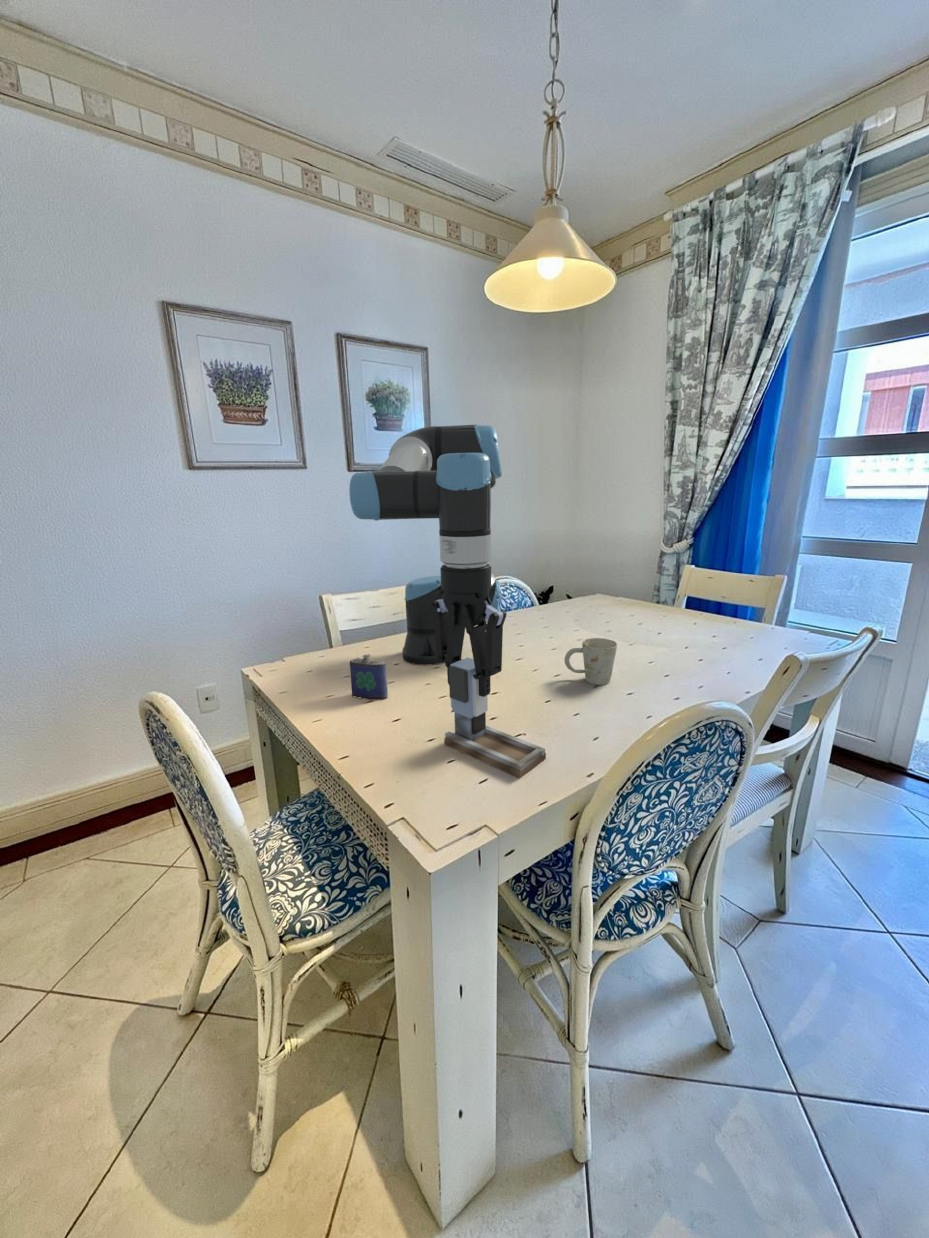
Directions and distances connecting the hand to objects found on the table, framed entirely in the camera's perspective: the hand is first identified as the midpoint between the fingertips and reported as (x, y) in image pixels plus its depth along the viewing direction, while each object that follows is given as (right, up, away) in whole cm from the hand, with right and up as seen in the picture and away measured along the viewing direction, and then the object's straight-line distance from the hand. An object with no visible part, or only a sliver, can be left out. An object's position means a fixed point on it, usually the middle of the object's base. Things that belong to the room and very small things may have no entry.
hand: (468, 708), depth 79 cm
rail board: (+5, -11, +14) cm, 18 cm away
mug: (+31, -1, +46) cm, 55 cm away
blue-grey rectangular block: (0, 0, 0) cm, 0 cm away
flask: (-24, -5, +39) cm, 46 cm away
